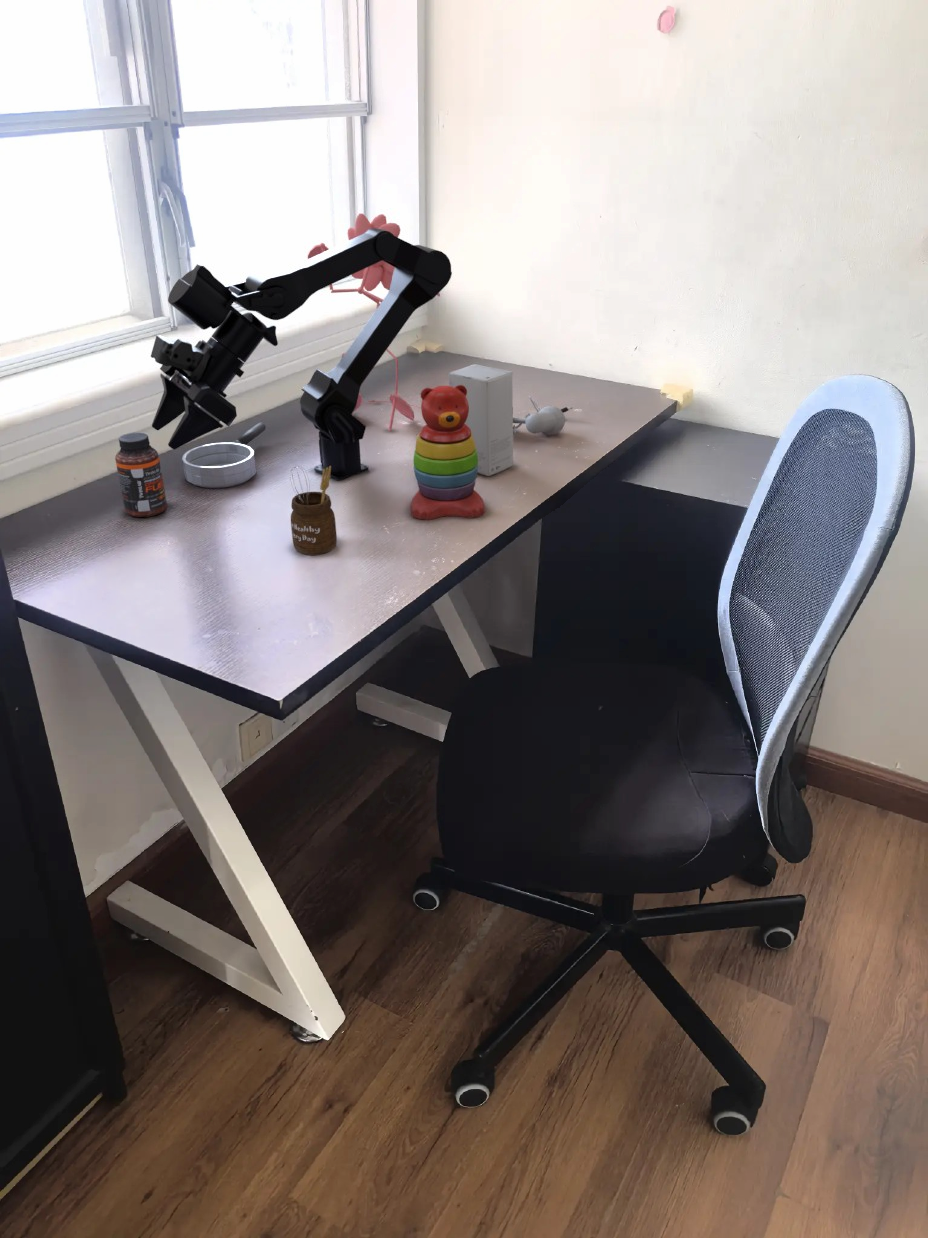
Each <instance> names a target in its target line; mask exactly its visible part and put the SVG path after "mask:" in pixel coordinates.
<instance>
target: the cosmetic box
mask: <svg viewBox="0 0 928 1238" xmlns="http://www.w3.org/2000/svg"><path fill="white" fill-rule="evenodd" d="M457 385H463V386H465V388H466V389H467V394H466V398H467V401H468V405H469V413H468V417H467V420H466V422H465V423H464V424H466V425H467V426H468V427H469V428H470V430H471V434H472V436H473V438H474V442H475V448H476V450H477V456H478V471H477V474H480V475H483V476H486V477H490V476H493V475H496V474H498V473H500V472H503V471H505V470H507V469H509V468H511V467H513V466H514V435H513V433H514V429H513V426H514V423H513V418H514V406H513V405H514V401H513V400H514V399H513V398H514V396H513V395H514V393H513V391H514V390H513V388H514V387H513V371H511V370H510V371H509V370H504V369H501V368H495V367H490V366H485V365H482V364H477V363H473V364H471V365H467V366H465V367H462V368H460V369H456V370H453V371H451V372H449V373H448V386H452V387H456V386H457Z"/></svg>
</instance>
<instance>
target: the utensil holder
mask: <svg viewBox="0 0 928 1238" xmlns="http://www.w3.org/2000/svg"><path fill="white" fill-rule="evenodd" d="M298 468H299V469H300V470H301V471H302V473H303V475H304V479H305V484H306V488H308V491H305V492H304V491H303V486H302V483H301V479H300V474H299V470H298ZM295 469H296V472H297V477H298V480H299V481H298V482H299V484H300V488H301V493H299V492H298V490H297V487H296V485H295V480H294V473H292V472H294V471H295ZM289 472H290V473H291V478H292V479H291V478H289V479H290V481H291V480H292V481H293V484H292V482H290V485H294V488H295V489H294V488H293V486H291V487H292V490H293V492H294V493H295V494H296V495H294V496H293V497H292V499H291V505H290V506H291V507H290V508H291V510H292V511H291V513H290V529H291V530H290V531H291V539H292V544H293V548H294V549H295V550H296V551H297V552H298V553H300V554H304V555H308V556H315V555H316V556H317V555H323V554H326V553H329V552H331V551H333V550H334V549H335V547H336V546H337V542H338V541H337V540H338V539H337V538H338V535H337V523H336V516H335V512H334V510H333V508H332V499H331V497H330V496H329V494H328V493H326V492H327V489H328V488H329V486H330V481H331V477H330V473H331V466H329V471H328V467H327V468H326V473H325V469H324V470H323V474H322V473H321V474H322V475H321V481H320V487H319V489H320V490H321V491H310V490H311V488H310V487H311V485H310V484H311V483H310V482H308V481H310V480H309V475H308V471H307V470H306V469H305V468H304V467H302V466H297V465H296V466H294V467H293V468H292V469H291V470H290V471H289ZM305 473H306V474H305ZM327 475H328V476H327ZM306 476H307V477H306ZM307 479H308V481H307ZM308 485H309V486H308Z"/></svg>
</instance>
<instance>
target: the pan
mask: <svg viewBox="0 0 928 1238" xmlns="http://www.w3.org/2000/svg"><path fill="white" fill-rule="evenodd" d="M229 445H236V446H237V451H230V450H229ZM181 461H182V466H183V467H182V468H183V474H184V478H185V479H186V481H187V482H189V483H190V484H192V485H194V486H196V487H199V488H205V489H206V488H208V489H218V488H219V489H221V488H228V487H234V486H237V485H240V484H244V483H246V482H248V481H250V480H251V479H252V478H253V477H254V476H255V475H256V473H257V463H256V457H255V451H254V449H253V448H252V447H251V446H249V445H247V444H246V445H243V444H238V443H232V442H215V443H208V444H202V445H200V446H197V447H193V448H191V449H189V450H187V451H186V452H185V453H184V454H183V455H182V458H181Z"/></svg>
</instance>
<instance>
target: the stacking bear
mask: <svg viewBox="0 0 928 1238" xmlns="http://www.w3.org/2000/svg"><path fill="white" fill-rule="evenodd" d="M466 394H467V389H466V388H465V386H463V385H457V386H456V387H452V386H449V385H437V386H434V387H432V388H431V387H424V388H423V389H422V390H421V391H420V398H421V405H420V410H421V411H420V412H421V415H422V419H423V421H424V422H425V425H424V426H423V427H422V428H421V430H420V432H419V433H420V434H419V433H418V434H419V435H417V437H416V441H415V442H416V443H415V449H414V452H413V472H414V477H415V480H416V482H417V483H416V484H417V487H418V491H417V492H416V493H415V494H414V495H413V497H412V499H411V502H410V514H411V516H412V517H413V518H415V519H419V520H434V519H436V518H440V517H447V516H453V517H461V518H467V519H469V518H478V517H480V516H483V515H484V514H485V512H486V508H485V503H484V500H483V498H482V497H481V495H480V494H479V493H478V492H477V491H476V490H475V486H476V482H477V477H478V473H477V471H478V456H477V450H476V448H475V442H474V438H473V436H472V434H471V430H470V428H469V427H468V426H467V425H466V424H464V423H465V422H466V420H467V417H468V413H469V405H468V401H467V398H466Z"/></svg>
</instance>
